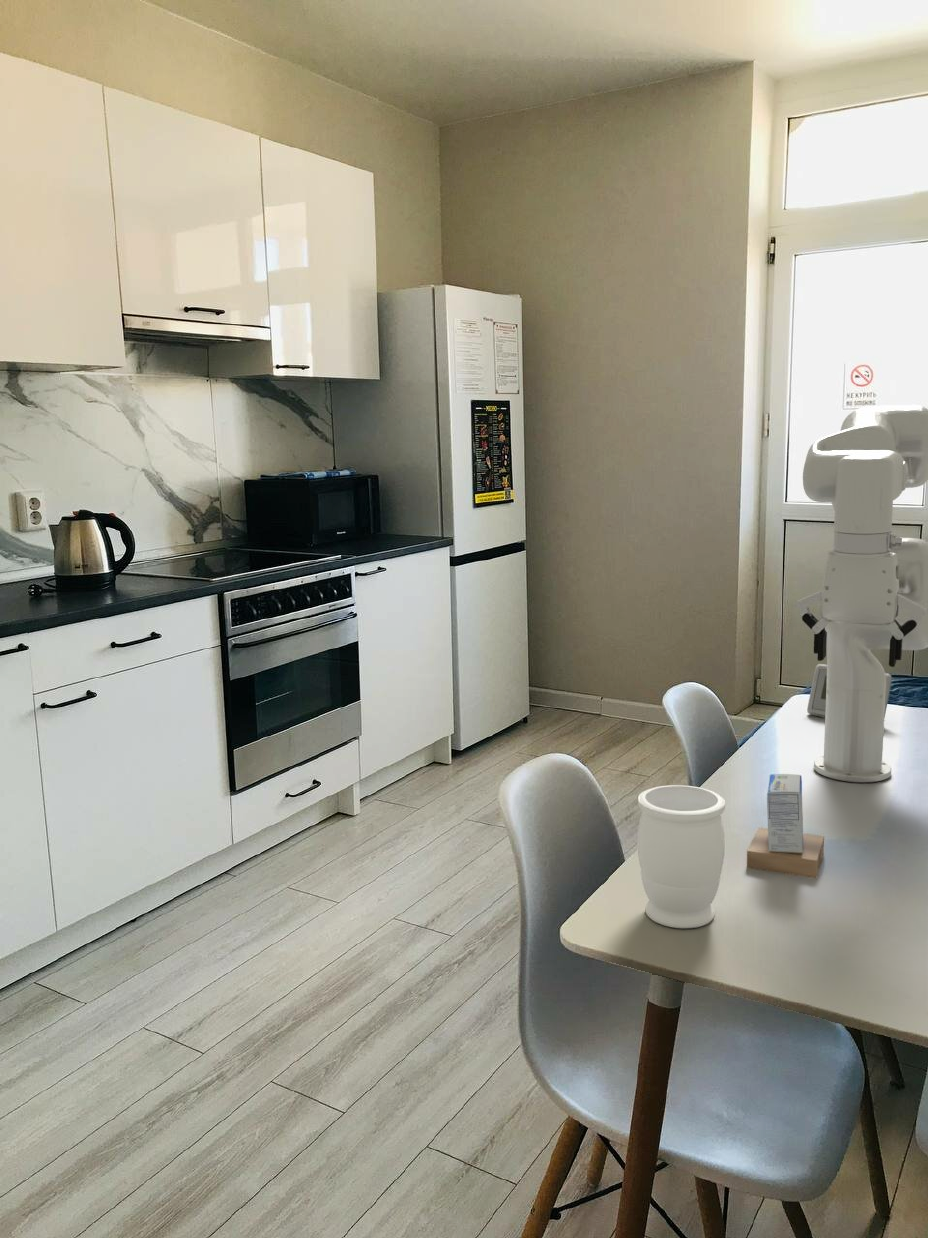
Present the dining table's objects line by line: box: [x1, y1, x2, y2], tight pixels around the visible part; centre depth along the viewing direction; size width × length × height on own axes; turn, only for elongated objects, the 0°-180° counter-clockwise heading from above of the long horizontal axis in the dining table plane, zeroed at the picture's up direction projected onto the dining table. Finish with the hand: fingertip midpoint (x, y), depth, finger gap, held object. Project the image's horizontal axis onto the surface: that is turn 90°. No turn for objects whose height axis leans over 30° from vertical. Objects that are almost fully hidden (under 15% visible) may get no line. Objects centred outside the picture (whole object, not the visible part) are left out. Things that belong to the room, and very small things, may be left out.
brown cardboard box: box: [746, 827, 825, 879], centre depth 139 cm, size 9×9×3 cm
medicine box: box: [766, 773, 804, 854], centre depth 139 cm, size 8×4×9 cm, turn 161°
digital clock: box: [807, 663, 893, 719], centre depth 207 cm, size 16×9×11 cm, turn 34°
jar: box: [637, 784, 726, 929], centre depth 123 cm, size 11×10×15 cm
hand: (856, 661), depth 145 cm, fingers open, 9 cm apart
